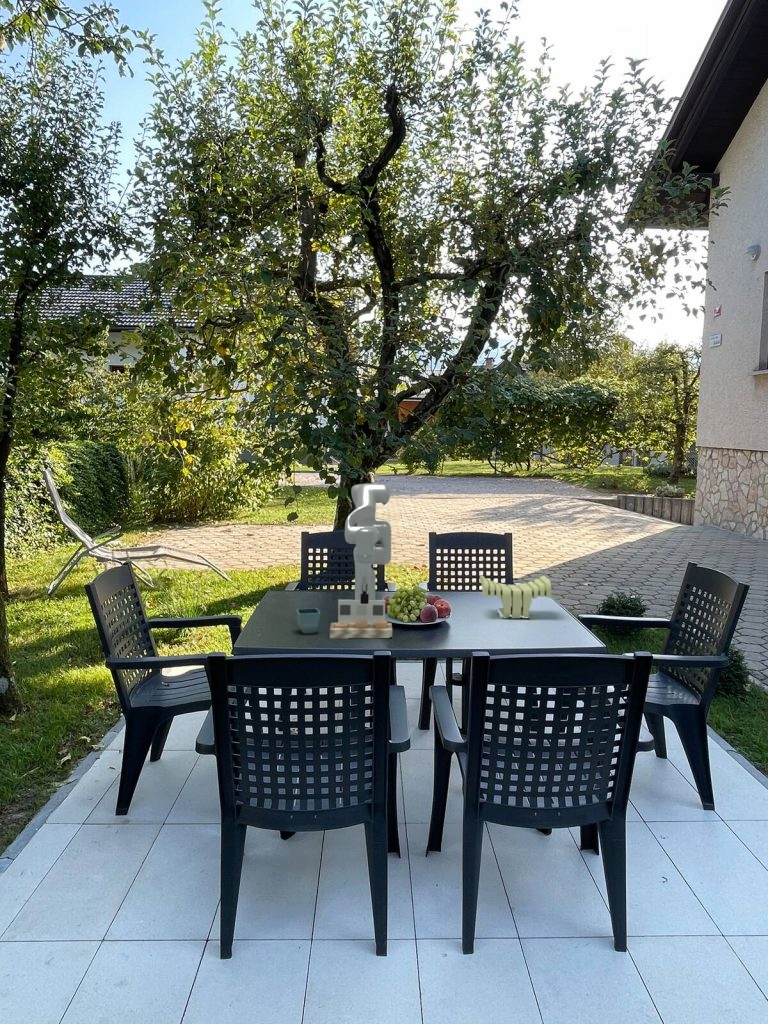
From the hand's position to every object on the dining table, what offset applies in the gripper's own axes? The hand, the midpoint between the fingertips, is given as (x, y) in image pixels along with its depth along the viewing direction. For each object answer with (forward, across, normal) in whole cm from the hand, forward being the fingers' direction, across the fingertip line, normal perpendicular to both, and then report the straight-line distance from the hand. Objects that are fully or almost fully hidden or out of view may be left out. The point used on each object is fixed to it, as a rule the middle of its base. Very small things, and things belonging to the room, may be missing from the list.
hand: (364, 603), depth 294 cm
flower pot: (+13, -3, -23) cm, 27 cm away
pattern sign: (+13, -15, -2) cm, 20 cm away
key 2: (+11, 0, +7) cm, 13 cm away
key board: (+13, 0, -1) cm, 13 cm away
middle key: (+11, 0, -1) cm, 11 cm away
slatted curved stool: (+13, -38, +68) cm, 79 cm away
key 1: (+12, 0, -9) cm, 16 cm away
